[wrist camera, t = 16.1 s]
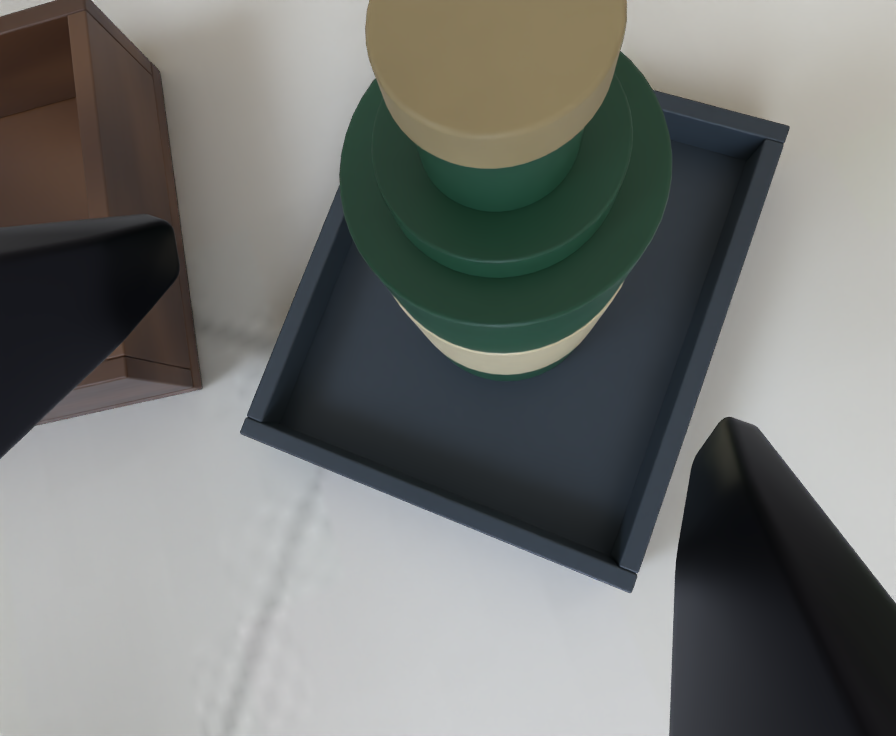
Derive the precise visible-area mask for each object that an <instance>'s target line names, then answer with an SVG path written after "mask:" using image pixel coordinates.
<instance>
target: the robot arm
mask: <svg viewBox="0 0 896 736" xmlns="http://www.w3.org/2000/svg"><path fill="white" fill-rule="evenodd" d="M179 272H180V262H179V256H178V250H177V244H176V238H175V232H174V229H173V227H172V225H171V224H170V223H169V222H168V221H166V220H163V219H160V218H158V217H155V216H152V215H149V214H135V215H125V216H114V217H104V218H93V219H83V220H73V221H62V222H52V223H41V224H31V225H21V226H10V227H0V459H1V458H2V457H3V456H4V455H5V454H6V453H7V452H8V451H9V450H10V449H11V448H12V447H13V446H14V445H15V444H16V443H17V442H18V441H20V440H21V439H22V438H23V437H24V436H25V435H26V434H27V433H28V432H29V431H30V430H31V429H32V428H33V427H34V426H35V425H36V424H37V423H38V422H40V421H41V420H42V419H43V418H44V417H45V416H46V415H47V414H48V413H49V412H50V411H51V410H52V409H53V408H54V407H55V406H56V405H57V404H59V403H60V402H61V401H62V400H63V399H64V398H65V397H66V396H67V395H68V394H69V393H70V392H71V391H72V390H73V389H74V388H75V387H76V386H77V385H79V384H80V383H81V382H82V381H83V380H84V379H85V378H86V377H87V376H88V375H89V374H90V373H91V372H92V371H93V370H94V369H95V368H96V367H97V366H99V365H100V364H101V363H102V362H103V361H104V360H105V359H106V358H107V357H108V356H109V355H110V354H111V353H112V352H113V351H114V350H115V349H116V348H117V347H118V346H119V345H120V344H121V343H122V342H123V341H124V340H125V339H126V338H127V337H128V336H129V334H130V333H131V332H132V331H133V330H134V329H135V328H136V326H137V325H138V324H139V323H140V322H141V320H142V319H143V318H144V317H145V316H146V315H147V313H148V312H149V311H150V310H151V309H152V308H153V306H154V305H155V304H156V303H157V302H158V301H159V299H160V298H161V297H162V296H163V295H164V294H165V292H166V291H167V290H168V289H169V288H170V287H171V285H172V284H173V283H174V282H175V281H176V279H177V277H178V275H179ZM669 736H896V603H895V602H894V600H893V599H892V598H891V597H890V595H889V594H888V593H887V591H886V590H885V589H884V588H883V586H882V585H881V584H880V583H879V581H878V580H877V579H876V577H875V576H874V575H873V574H872V572H871V571H870V570H869V569H868V567H867V566H866V565H865V563H864V562H863V561H862V560H861V558H860V557H859V556H858V554H857V553H856V552H855V551H854V549H853V548H852V547H851V546H850V544H849V543H848V542H847V540H846V539H845V538H844V537H843V535H842V534H841V533H840V532H839V530H838V529H837V528H836V526H835V525H834V524H833V523H832V521H831V520H830V519H829V517H828V516H827V515H826V514H825V512H824V511H823V510H822V509H821V507H820V506H819V505H818V503H817V502H816V501H815V500H814V498H813V497H812V496H811V495H810V493H809V492H808V491H807V489H806V488H805V487H804V486H803V484H802V483H801V482H800V480H799V479H798V478H797V477H796V475H795V474H794V473H793V472H792V470H791V469H790V468H789V466H788V465H787V464H786V463H785V461H784V460H783V459H782V458H781V456H780V455H779V454H778V452H777V451H776V450H775V449H774V447H773V446H772V445H771V443H770V442H769V441H768V440H767V438H766V437H765V436H764V435H763V433H762V432H761V431H760V430H759V428H758V427H756V426H755V425H752V424H749V423H746V422H744V421H741V420H738V419H735V418H732V417H726V418H724V419H723V420H721V421H720V422H719V423H718V425H717V426H716V428H715V429H714V430H713V432H712V433H711V435H710V436H709V437H708V439H707V440H706V442H705V443H704V445H703V446H702V447H701V449H700V450H699V452H698V453H697V455H696V457H695V459H694V461H693V464H692V468H691V473H690V479H689V485H688V491H687V497H686V502H685V508H684V514H683V520H682V526H681V532H680V538H679V544H678V551H677V558H676V570H675V591H674V619H673V647H672V675H671V702H670V730H669Z"/></svg>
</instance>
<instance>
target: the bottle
mask: <svg viewBox="0 0 896 736" xmlns="http://www.w3.org/2000/svg"><path fill="white" fill-rule="evenodd" d="M626 22H627V0H369V4H368V9H367V14H366V25H365V34H366V46H367V52H368V57H369V60H370V63H371V66H372V69H373V72H374V74H375V77H376V78H375V79H374V81H373V82H372V83H371V85H370V86H369V88H368V89H367V91H366V92H365V94H364V95H363V97H362V98H361V100H360V102H359V104H358V106H357V108H356V110H355V112H354V114H353V116H352V119H351V122H350V124H349V127H348V130H347V132H346V136H345V140H344V145H343V149H342V154H341V163H340V174H339V178H340V196H341V202H342V208H343V213H344V217H345V220H346V223H347V226H348V229H349V232H350V235H351V237H352V239H353V241H354V243H355V245H356V247H357V249H358V251H359V253H360V254H361V256H362V257H363V259H364V260H365V262H366V263H367V265H368V266H369V267H370V269H371V270H372V271H373V272H374V273H375V275H376V276H377V277H378V278H379V279H380V280H381V282H382V283H383V284H384V285H385V286H386V287H387V289H388V290H389V291H390V292H391V293H392V295H393V296H394V298H395V299H396V301H397V302H398V304H399V305H400V307H401V308H402V309H403V311H404V312H405V313H406V314H407V315H408V316H409V317H410V318H411V320H412V321H413V322H414V323H415V324H416V325H417V326H418V328H419V329H420V330H421V331H422V332H423V333H424V334H425V336H426V337H427V338H428V339H429V340H430V341H431V342H432V343H433V345H434V346H435V347H436V348H438V349H439V350H440V351H441V352H442V353H443V354H444V355H445V356H446V357H447V358H448V359H449V360H450V361H452V362H453V363H454V364H455V365H457V366H458V367H460V368H461V369H463V370H464V371H467V372H469V373H471V374H473V375H475V376H478V377H481V378H484V379H489V380H495V381H519V380H524V379H529V378H532V377H535V376H538V375H541V374H543V373H545V372H547V371H549V370H551V369H552V368H554V367H555V366H557V365H558V364H560V363H561V362H562V361H563V360H565V359H566V358H567V357H568V356H569V355H570V354H571V353H572V352H573V351H574V349H575V348H576V347H577V346H578V345H579V344H580V343H581V342H582V340H583V339H584V338H585V337H586V336H587V335H588V333H589V332H590V331H591V329H592V328H593V327H594V325H595V324H596V323H597V321H598V320H599V318H600V317H601V316H602V314H603V313H604V312H605V310H606V309H607V308H608V306H609V305H610V304H611V302H612V301H613V299H614V298H615V296H616V294H617V293H618V291H619V290H620V288H621V286H622V284H623V282H624V280H625V279H626V277H627V276H628V274H629V273H630V272H631V270H632V269H633V267H634V266H635V265H636V263H637V262H638V260H639V259H640V258H641V256H642V255H643V253H644V252H645V250H646V248H647V247H648V245H649V244H650V242H651V241H652V239H653V237H654V235H655V233H656V231H657V229H658V226H659V224H660V222H661V220H662V217H663V214H664V211H665V208H666V204H667V201H668V198H669V191H670V185H671V179H672V150H671V142H670V134H669V131H668V127H667V124H666V120H665V116H664V113H663V111H662V108H661V106H660V104H659V102H658V99H657V97H656V95H655V93H654V91H653V90H652V88H651V87H650V85H649V83H648V82H647V80H646V79H645V77H644V76H643V74H642V73H641V72H640V71H639V70H638V68H637V67H636V66H635V65H634V64H633V62H632V61H631V60H630V59H629V58H627V57H626V56H625V55H624V54H623V53H622V52H621V51H620V49H621V46H622V42H623V39H624V33H625V28H626Z"/></svg>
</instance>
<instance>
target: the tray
mask: <svg viewBox="0 0 896 736" xmlns="http://www.w3.org/2000/svg"><path fill="white" fill-rule="evenodd" d="M653 91H654V93H655V95H656V97H657V99H658V102H659V104H660V106H661V108H662V111H663V113H664V116H665V120H666V124H667V127H668V131H669V134H670V142H671V150H672V179H671V185H670V191H669V198H668V201H667V204H666V208H665V211H664V214H663V217H662V220H661V222H660V224H659V226H658V229H657V231H656V233H655V235H654V237H653V239H652V241H651V242H650V244H649V245H648V247H647V248H646V250H645V252H644V253H643V255H642V256H641V258H640V259H639V260H638V262H637V263H636V265H635V266H634V267H633V269H632V270H631V272H630V273H629V274H628V276H627V277H626V279H625V280H624V282H623V284H622V286H621V288H620V290H619V291H618V293H617V294H616V296H615V298H614V299H613V301H612V302H611V304H610V305H609V306H608V308H607V309H606V310H605V312H604V313H603V314H602V316H601V317H600V318H599V320H598V321H597V323H596V324H595V325H594V327H593V328H592V329H591V331H590V332H589V333H588V335H587V336H586V337H585V338H584V339H583V340H582V342H581V343H580V344H579V345H578V346H577V347H576V348H575V349H574V351H573V352H572V353H571V354H570V355H569V356H568V357H567V358H566V359H565V360H563V361H562V362H561V363H560V364H558V365H557V366H555V367H554V368H552V369H551V370H549V371H547V372H545V373H543V374H541V375H538V376H535V377H532V378H529V379H524V380H519V381H495V380H489V379H484V378H481V377H478V376H475V375H473V374H471V373H469V372H467V371H464V370H463V369H461V368H460V367H458V366H457V365H455V364H454V363H453V362H452V361H450V360H449V359H448V358H447V357H446V356H445V355H444V354H443V353H442V352H441V351H440V350H439V349H438V348H436V347H435V346H434V345H433V343H432V342H431V341H430V340H429V339H428V338H427V337H426V336H425V334H424V333H423V332H422V331H421V330H420V329H419V328H418V326H417V325H416V324H415V323H414V322H413V321H412V320H411V318H410V317H409V316H408V315H407V314H406V313H405V312H404V311H403V309H402V308H401V307H400V305H399V304H398V302H397V301H396V299H395V298H394V296H393V295H392V293H391V292H390V291H389V290H388V289H387V287H386V286H385V285H384V284H383V283H382V282H381V280H380V279H379V278H378V277H377V276H376V275H375V273H374V272H373V271H372V270H371V269H370V267H369V266H368V265H367V263H366V262H365V260H364V259H363V257H362V256H361V254H360V253H359V251H358V249H357V247H356V245H355V243H354V241H353V239H352V237H351V235H350V232H349V229H348V226H347V223H346V220H345V217H344V213H343V208H342V202H341V196H340V185H339V188H338V190H337V193H336V195H335V198H334V200H333V203H332V205H331V207H330V210H329V212H328V215H327V217H326V220H325V222H324V225H323V227H322V230H321V232H320V235H319V237H318V240H317V242H316V245H315V247H314V250H313V252H312V255H311V257H310V260H309V262H308V265H307V267H306V270H305V272H304V275H303V277H302V280H301V282H300V284H299V287H298V289H297V292H296V294H295V297H294V299H293V302H292V304H291V307H290V309H289V312H288V314H287V317H286V319H285V322H284V324H283V327H282V329H281V332H280V334H279V337H278V339H277V342H276V344H275V347H274V349H273V352H272V354H271V357H270V359H269V361H268V364H267V366H266V369H265V371H264V374H263V376H262V379H261V381H260V384H259V386H258V389H257V391H256V394H255V396H254V399H253V401H252V404H251V406H250V409H249V411H248V414H247V416H248V417H247V418H246V419H245V421H244V424H243V426H242V429H241V431H240V433H241V434H242V435H244V436H247V437H249V438H252V439H254V440H257V441H259V442H261V443H264V444H266V445H269V446H271V447H274V448H276V449H279V450H281V451H283V452H286V453H288V454H291V455H293V456H296V457H298V458H301V459H303V460H305V461H308V462H310V463H313V464H315V465H318V466H320V467H323V468H325V469H327V470H330V471H332V472H335V473H337V474H340V475H342V476H345V477H347V478H349V479H352V480H354V481H357V482H359V483H362V484H364V485H367V486H369V487H371V488H374V489H376V490H379V491H381V492H384V493H386V494H389V495H391V496H393V497H396V498H398V499H401V500H403V501H406V502H408V503H411V504H413V505H415V506H418V507H420V508H423V509H425V510H428V511H430V512H433V513H435V514H437V515H440V516H442V517H445V518H447V519H450V520H452V521H455V522H457V523H459V524H462V525H464V526H467V527H469V528H472V529H474V530H477V531H479V532H481V533H484V534H486V535H489V536H491V537H494V538H496V539H499V540H501V541H503V542H506V543H508V544H511V545H513V546H516V547H518V548H521V549H523V550H525V551H528V552H530V553H533V554H535V555H538V556H540V557H543V558H545V559H547V560H550V561H552V562H555V563H557V564H560V565H562V566H565V567H567V568H569V569H572V570H574V571H577V572H579V573H582V574H584V575H587V576H589V577H591V578H594V579H596V580H599V581H601V582H604V583H606V584H609V585H611V586H613V587H616V588H618V589H621V590H623V591H626V592H628V593H631V592H632V591H633V588H634V585H635V582H636V579H637V574H636V573H638V572H639V570H640V567H641V564H642V561H643V558H644V555H645V552H646V549H647V546H648V543H649V540H650V538H651V535H652V532H653V529H654V526H655V523H656V520H657V517H658V514H659V511H660V508H661V505H662V502H663V499H664V496H665V493H666V490H667V487H668V485H669V482H670V479H671V476H672V473H673V470H674V467H675V464H676V461H677V458H678V455H679V452H680V449H681V446H682V443H683V440H684V437H685V434H686V432H687V429H688V426H689V423H690V420H691V417H692V414H693V411H694V408H695V405H696V402H697V399H698V396H699V393H700V390H701V387H702V384H703V381H704V379H705V376H706V373H707V370H708V367H709V364H710V361H711V358H712V355H713V352H714V349H715V346H716V343H717V340H718V337H719V334H720V331H721V328H722V326H723V323H724V320H725V317H726V314H727V311H728V308H729V305H730V302H731V299H732V296H733V293H734V290H735V287H736V284H737V281H738V278H739V275H740V273H741V270H742V267H743V264H744V261H745V258H746V255H747V252H748V249H749V246H750V243H751V240H752V237H753V234H754V231H755V228H756V225H757V222H758V220H759V217H760V214H761V211H762V208H763V205H764V202H765V199H766V196H767V193H768V190H769V187H770V184H771V181H772V178H773V175H774V172H775V169H776V166H777V164H778V161H779V158H780V155H781V152H782V149H783V144H784V142H785V140H786V137H787V134H788V131H789V128H790V127H789V126H787V125H783V124H780V123H776V122H772V121H768V120H764V119H761V118H757V117H753V116H749V115H746V114H742V113H738V112H734V111H730V110H727V109H723V108H719V107H715V106H711V105H708V104H704V103H700V102H696V101H693V100H689V99H685V98H681V97H677V96H674V95H670V94H666V93H662V92H658V91H655V90H653Z"/></svg>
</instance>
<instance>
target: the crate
mask: <svg viewBox="0 0 896 736" xmlns="http://www.w3.org/2000/svg"><path fill="white" fill-rule="evenodd" d="M135 214H149V215H152V216H155V217H158V218H160V219H163V220H166V221H168V222H169V223H170V224H171V225H172V227H173V229H174V232H175V238H176V244H177V250H178V256H179V262H180V272H179V275H178V277H177V279H176V281H175V282H174V283H173V284H172V285H171V287H170V288H169V289H168V290H167V291H166V292H165V294H164V295H163V296H162V297H161V298H160V299H159V301H158V302H157V303H156V304H155V305H154V306H153V308H152V309H151V310H150V311H149V312H148V313H147V315H146V316H145V317H144V318H143V319H142V320H141V322H140V323H139V324H138V325H137V326H136V328H135V329H134V330H133V331H132V332H131V333H130V334H129V336H128V337H127V338H126V339H125V340H124V341H123V342H122V343H121V344H120V345H119V346H118V347H117V348H116V349H115V350H114V351H113V352H112V353H111V354H110V355H109V356H108V357H107V358H106V359H105V360H104V361H103V362H102V363H101V364H100V365H99V366H97V367H96V368H95V369H94V370H93V371H92V372H91V373H90V374H89V375H88V376H87V377H86V378H85V379H84V380H83V381H82V382H81V383H80V384H79V385H77V386H76V387H75V388H74V389H73V390H72V391H71V392H70V393H69V394H68V395H67V396H66V397H65V398H64V399H63V400H62V401H61V402H60V403H59V404H57V405H56V406H55V407H54V408H53V409H52V410H51V411H50V412H49V413H48V414H47V415H46V416H45V417H44V418H43V419H42V420H41V421H40V422H38V423H37V424H36V425H40V424H45V423H49V422H54V421H59V420H63V419H68V418H72V417H77V416H81V415H86V414H91V413H95V412H100V411H104V410H109V409H113V408H118V407H122V406H127V405H132V404H136V403H141V402H145V401H150V400H154V399H159V398H164V397H168V396H173V395H177V394H182V393H186V392H191V391H195V390H200V389H202V384H201V376H200V369H199V361H198V354H197V346H196V339H195V331H194V324H193V316H192V309H191V301H190V294H189V286H188V279H187V271H186V264H185V256H184V249H183V241H182V234H181V226H180V219H179V211H178V204H177V196H176V189H175V181H174V174H173V166H172V159H171V151H170V144H169V136H168V129H167V121H166V114H165V106H164V99H163V91H162V84H161V76H160V71H159V70H158V68H157V67H156V66H155V65H154V64H153V63H152V62H150V61H149V60H148V58H147V57H146V56H145V55H144V54H143V53H142V52H141V51H140V50H139V49H138V48H137V47H136V46H135V45H134V44H133V43H132V42H131V41H130V40H129V39H128V38H127V37H126V36H125V35H124V34H123V33H122V32H121V31H120V30H119V29H118V28H117V27H116V26H115V24H114V23H113V22H112V21H111V20H110V19H109V18H108V17H107V16H106V15H105V14H104V13H103V12H102V11H101V10H100V9H99V8H98V7H97V6H96V5H95V4H94V3H93V2H92V1H91V0H55V1H52V2H48V3H45V4H41V5H38V6H35V7H31V8H28V9H25V10H21V11H18V12H14V13H11V14H8V15H4V16H1V17H0V227H10V226H21V225H31V224H41V223H52V222H62V221H73V220H83V219H93V218H104V217H114V216H125V215H135ZM36 425H35V426H36Z"/></svg>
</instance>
